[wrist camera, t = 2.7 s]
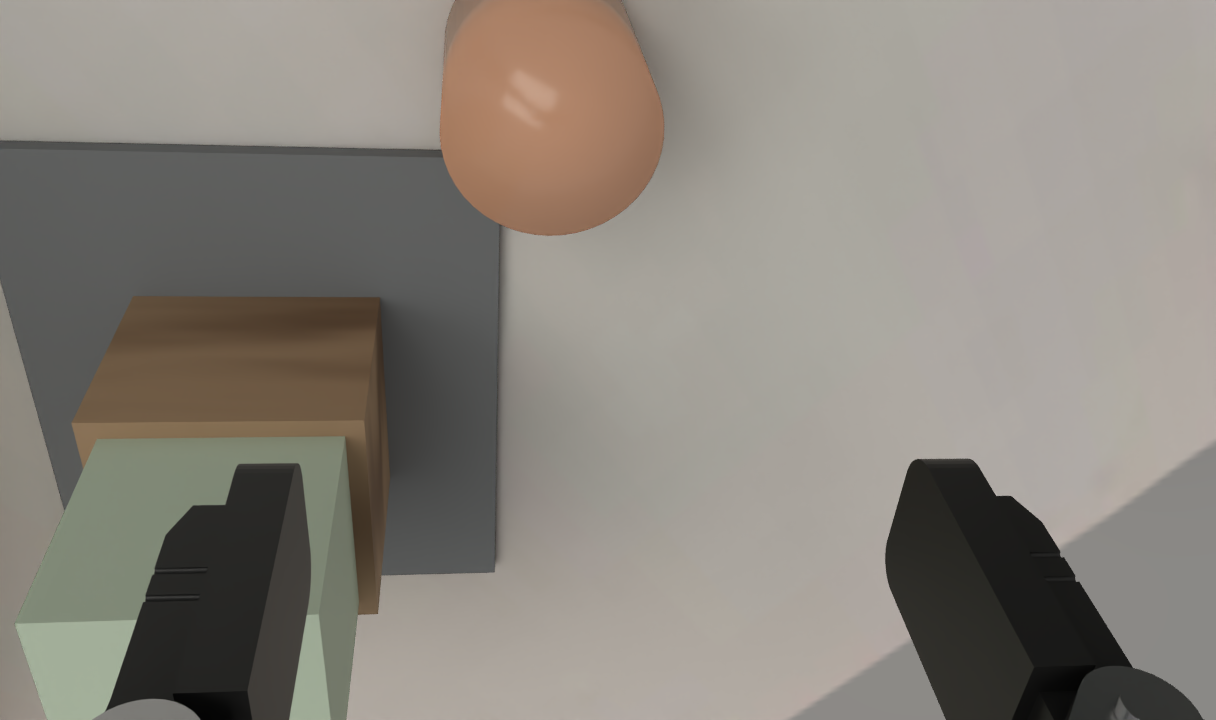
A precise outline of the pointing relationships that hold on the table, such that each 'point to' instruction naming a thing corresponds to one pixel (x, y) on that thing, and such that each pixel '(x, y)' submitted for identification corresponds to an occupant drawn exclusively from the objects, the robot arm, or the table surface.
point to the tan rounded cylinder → (547, 112)
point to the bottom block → (255, 388)
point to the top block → (129, 548)
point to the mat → (273, 294)
